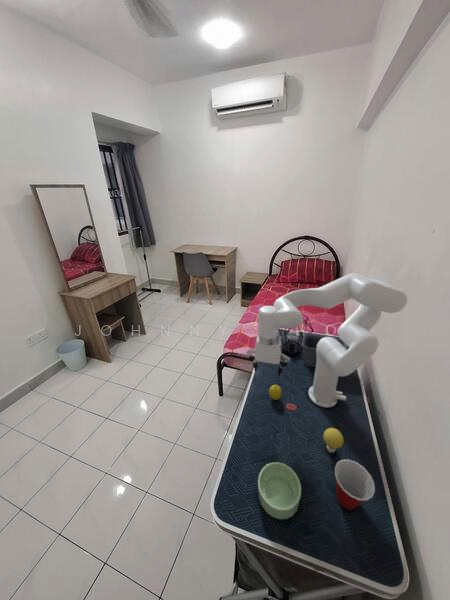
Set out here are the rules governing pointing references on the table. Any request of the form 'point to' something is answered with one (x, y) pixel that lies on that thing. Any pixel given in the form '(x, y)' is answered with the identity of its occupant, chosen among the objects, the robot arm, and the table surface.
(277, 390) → the lemon
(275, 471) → the pale green bowl
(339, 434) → the light bulb
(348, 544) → the table surface
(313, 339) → the storage bin
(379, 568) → the table surface
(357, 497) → the plastic cup
